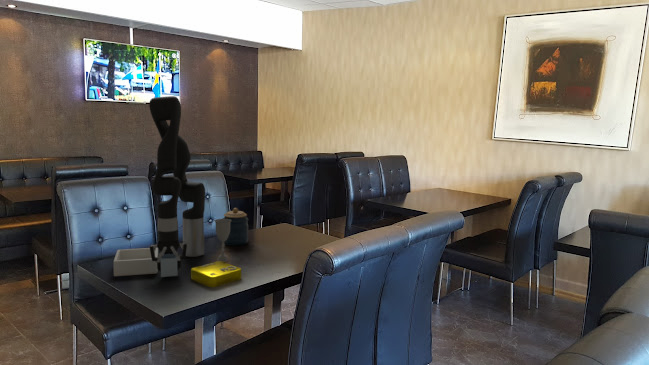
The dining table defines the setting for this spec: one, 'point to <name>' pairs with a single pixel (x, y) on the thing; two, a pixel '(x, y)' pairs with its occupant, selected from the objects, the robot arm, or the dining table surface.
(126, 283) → the dining table surface
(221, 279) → the element tile
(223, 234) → the chalice
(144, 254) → the large crate
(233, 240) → the canister
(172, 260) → the small crate
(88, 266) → the dining table surface
